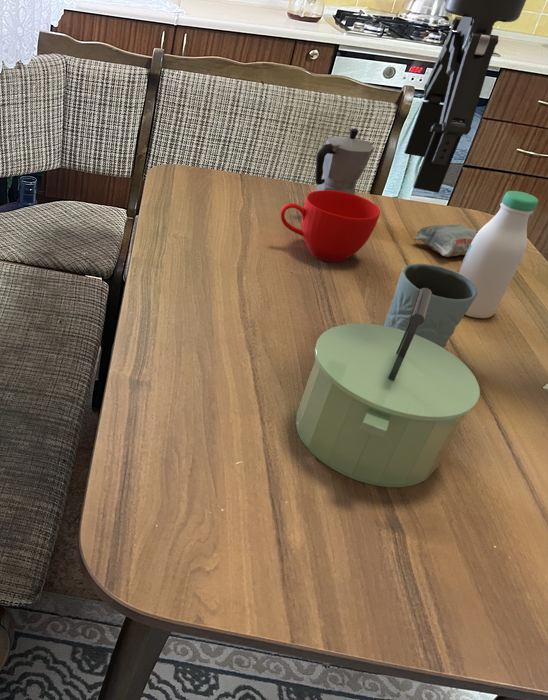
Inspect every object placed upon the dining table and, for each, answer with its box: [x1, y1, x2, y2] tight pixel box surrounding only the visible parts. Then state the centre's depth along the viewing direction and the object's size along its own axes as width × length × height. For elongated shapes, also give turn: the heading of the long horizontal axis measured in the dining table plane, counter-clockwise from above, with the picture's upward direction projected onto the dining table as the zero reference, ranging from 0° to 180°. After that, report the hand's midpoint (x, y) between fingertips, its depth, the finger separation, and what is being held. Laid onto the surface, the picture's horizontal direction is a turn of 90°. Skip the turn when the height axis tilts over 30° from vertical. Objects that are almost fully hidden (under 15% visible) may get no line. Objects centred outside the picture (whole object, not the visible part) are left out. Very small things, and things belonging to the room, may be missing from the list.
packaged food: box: [414, 223, 479, 258], centre depth 132 cm, size 9×12×5 cm
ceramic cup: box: [279, 190, 381, 263], centre depth 125 cm, size 13×17×10 cm
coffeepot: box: [314, 128, 375, 195], centre depth 139 cm, size 15×9×18 cm, turn 122°
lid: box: [314, 288, 481, 421], centre depth 76 cm, size 18×18×10 cm
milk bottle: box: [456, 190, 539, 319], centre depth 110 cm, size 8×8×20 cm
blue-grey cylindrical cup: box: [383, 263, 477, 349], centre depth 99 cm, size 10×10×12 cm
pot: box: [295, 359, 466, 488], centre depth 82 cm, size 17×22×10 cm
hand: (420, 171), depth 84 cm, fingers open, 13 cm apart
